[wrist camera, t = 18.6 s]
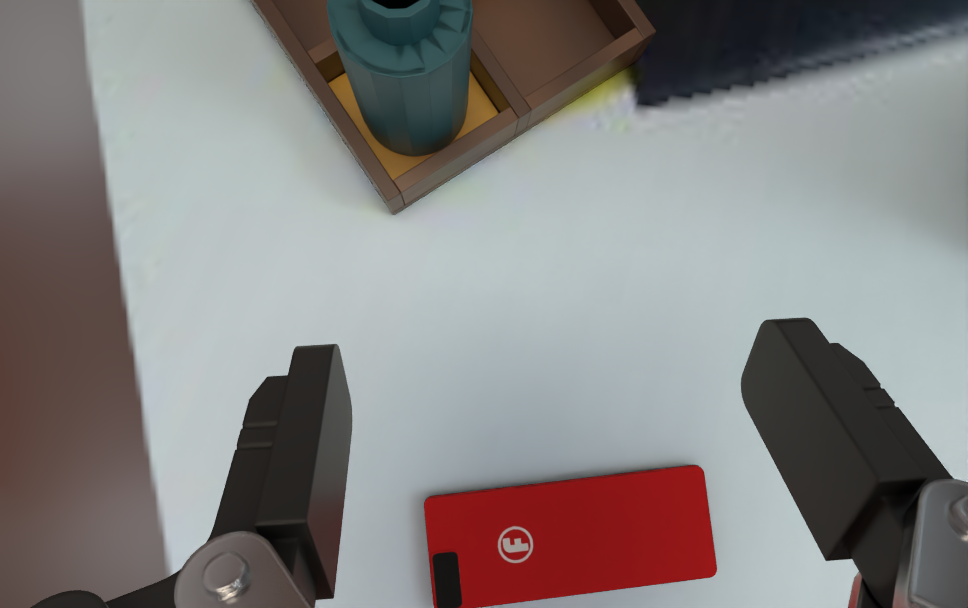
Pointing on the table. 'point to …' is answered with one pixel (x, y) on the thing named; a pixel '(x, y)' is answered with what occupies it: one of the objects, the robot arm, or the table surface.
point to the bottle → (407, 68)
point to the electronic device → (569, 537)
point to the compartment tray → (472, 78)
